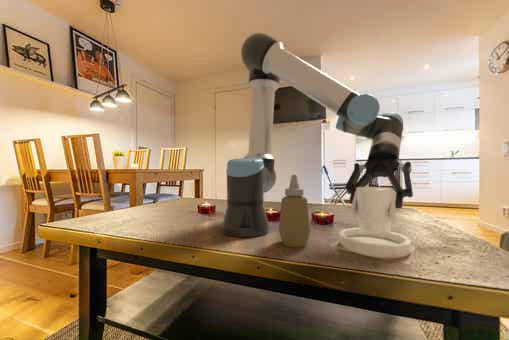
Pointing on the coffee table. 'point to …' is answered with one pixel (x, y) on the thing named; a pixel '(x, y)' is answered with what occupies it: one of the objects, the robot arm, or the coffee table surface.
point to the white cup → (374, 208)
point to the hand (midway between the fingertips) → (371, 215)
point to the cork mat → (401, 260)
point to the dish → (375, 243)
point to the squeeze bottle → (294, 216)
